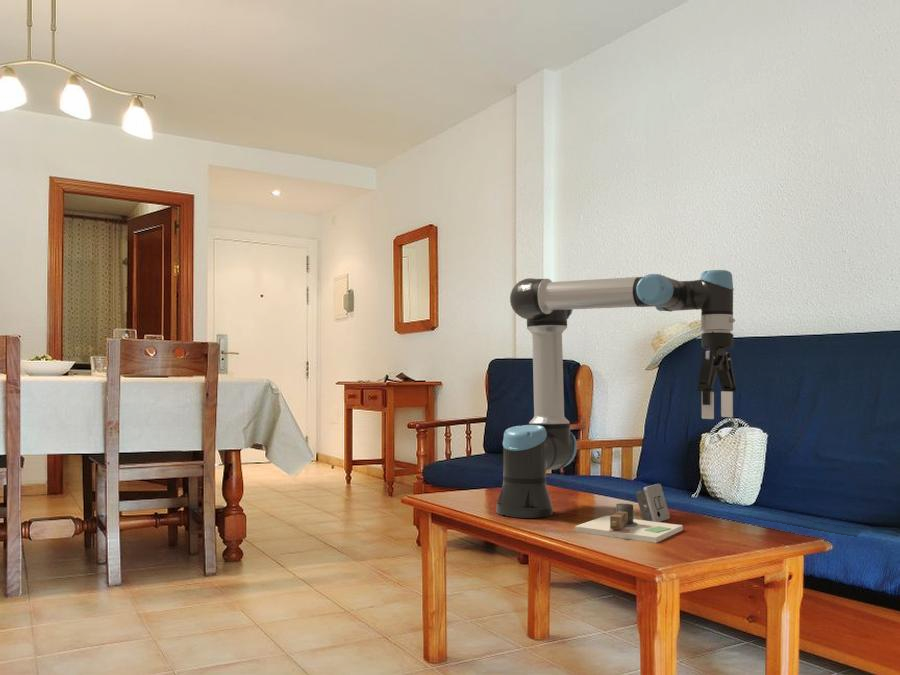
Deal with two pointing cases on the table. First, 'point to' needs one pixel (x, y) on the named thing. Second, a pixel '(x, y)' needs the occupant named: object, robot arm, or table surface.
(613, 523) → the peg
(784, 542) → the table surface
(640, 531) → the tuner plate
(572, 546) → the table surface
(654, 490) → the electrical switch
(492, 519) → the table surface
